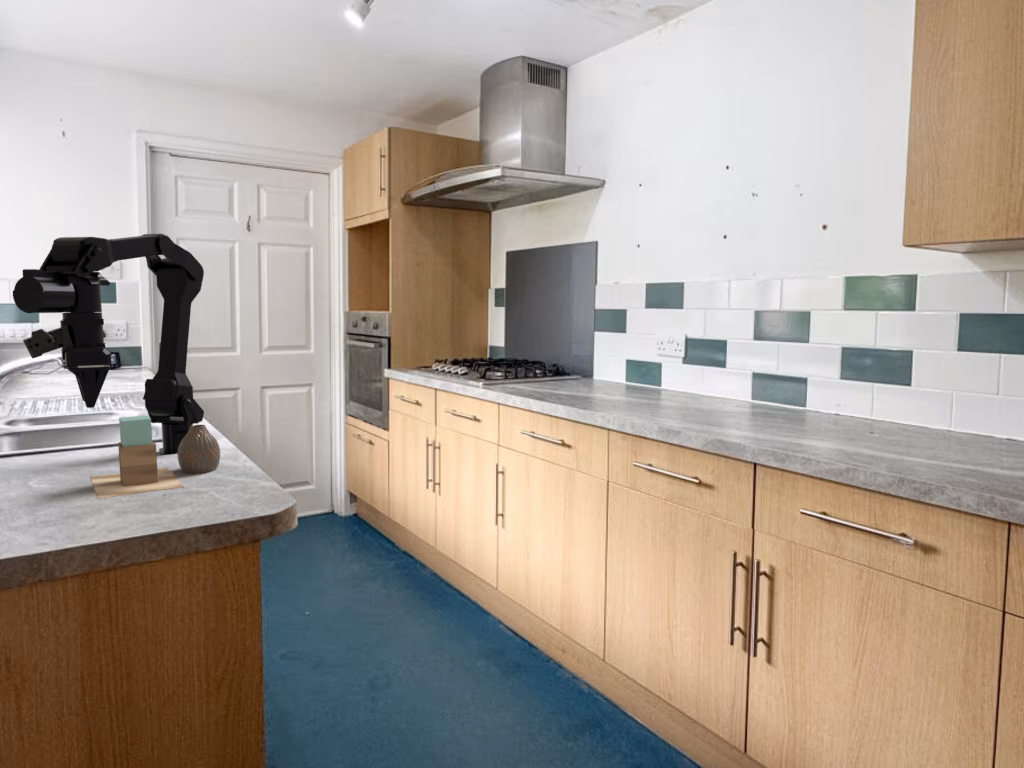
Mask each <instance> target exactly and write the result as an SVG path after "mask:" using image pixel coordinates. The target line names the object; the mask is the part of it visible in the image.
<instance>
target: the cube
mask: <svg viewBox="0 0 1024 768" xmlns="http://www.w3.org/2000/svg"><path fill="white" fill-rule="evenodd" d="M118 422H119V435H120V437H119V438H120V439H119V440H120V442H121V444H122V446H123V447H129V446H139V445H149V444H152V440H153V433H152V432H153V431H152V423H151V419H150V417H149V415H137V416H136V415H135V416H125V417H124V416H123V417H119V418H118Z"/></svg>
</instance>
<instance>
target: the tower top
mask: <svg viewBox="0 0 1024 768" xmlns="http://www.w3.org/2000/svg"><path fill="white" fill-rule="evenodd" d="M117 445H118V460H119V461H118V462H120V464H121V465H122V467H129V466H138V465H147V464H156V463H157V464H158V456H157V444H156V442H155V441H154V440H153V439H152V444H149V445H139V446H129V447H123V446H122V444H121V441H120V442H119V441H118V442H117ZM120 464H119V465H120Z"/></svg>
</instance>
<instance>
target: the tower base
mask: <svg viewBox="0 0 1024 768" xmlns="http://www.w3.org/2000/svg"><path fill="white" fill-rule="evenodd" d="M118 462H119V461H118ZM118 464H119V473H120V480H121V482H122V484H123V486H124V487H125V486H133V485H141V484H149V483H157V482H158V471H157V469H158V462H157V463H156V464H147V465H138V466H129V467H122V465H121V464H120V462H119V463H118Z"/></svg>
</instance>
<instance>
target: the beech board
mask: <svg viewBox="0 0 1024 768" xmlns="http://www.w3.org/2000/svg"><path fill="white" fill-rule="evenodd" d="M157 471H158V482H157V483H149V484H141V485H133V486H125V487H124V486H123V484H122V482H121V480H120V472H119V473H111V474H103V475H102V474H101V475H93V476H90V480H91V482H92V485H93V488H94V491H95V492H94V493H95V494H96V498H97V500H98V499H105V498H112V497H120V496H126V495H127V496H129V495H134V494H135V495H137V494H143V493H149V492H151V493H152V492H158V491H165V490H167V491H168V490H173V489H180V488H181V489H182V488H184V487H185V485H183V484H182V483H181V481H180V480H179V479H178V478H177V477H176V476H175V474H174V473H173V472H172V471H171V469H170V468H169V467H161V468H157Z"/></svg>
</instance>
